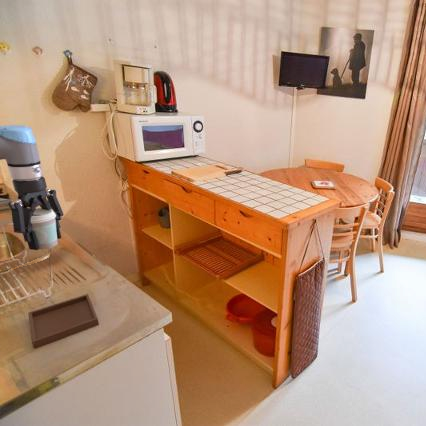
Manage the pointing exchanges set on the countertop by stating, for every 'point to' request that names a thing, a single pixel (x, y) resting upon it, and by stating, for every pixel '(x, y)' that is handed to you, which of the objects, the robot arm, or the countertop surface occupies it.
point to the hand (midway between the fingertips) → (46, 243)
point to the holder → (61, 320)
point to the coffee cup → (44, 228)
